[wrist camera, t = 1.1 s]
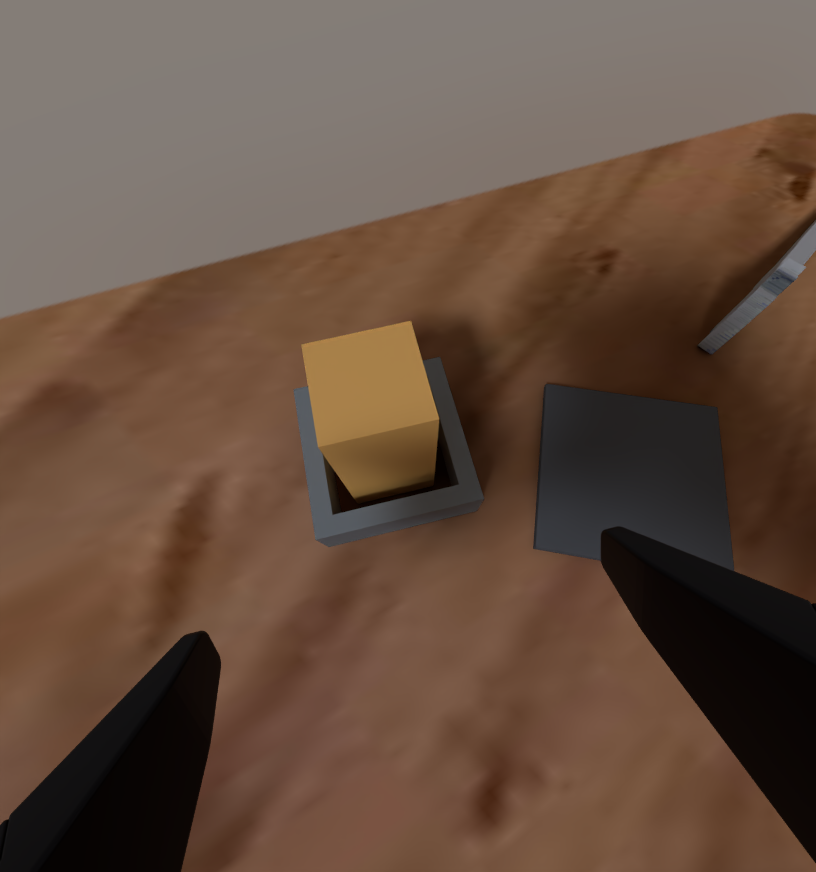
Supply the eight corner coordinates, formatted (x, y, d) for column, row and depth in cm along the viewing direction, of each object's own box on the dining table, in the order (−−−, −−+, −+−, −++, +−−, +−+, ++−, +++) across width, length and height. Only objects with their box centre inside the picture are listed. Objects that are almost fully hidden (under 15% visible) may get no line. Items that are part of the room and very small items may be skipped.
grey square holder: (477, 510, 23) (484, 498, 20) (328, 547, 23) (315, 539, 20) (438, 382, 26) (439, 356, 23) (307, 412, 26) (293, 389, 23)
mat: (728, 583, 21) (735, 582, 21) (533, 548, 22) (535, 547, 22) (711, 410, 25) (717, 407, 24) (544, 387, 26) (546, 383, 25)
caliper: (706, 361, 26) (786, 293, 21) (691, 351, 27) (765, 281, 21) (854, 197, 31) (954, 104, 25) (840, 190, 31) (935, 97, 26)
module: (433, 485, 24) (439, 419, 15) (357, 503, 23) (318, 447, 15) (415, 417, 25) (410, 320, 17) (344, 433, 25) (301, 344, 16)
